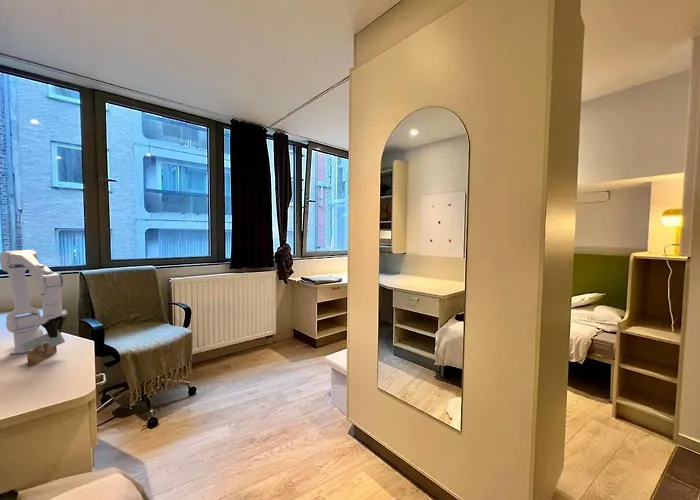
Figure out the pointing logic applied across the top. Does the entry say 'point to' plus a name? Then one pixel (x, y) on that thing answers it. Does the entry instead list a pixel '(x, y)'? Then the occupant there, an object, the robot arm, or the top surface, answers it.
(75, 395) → the top surface
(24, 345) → the pale green bar
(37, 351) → the walnut plate
